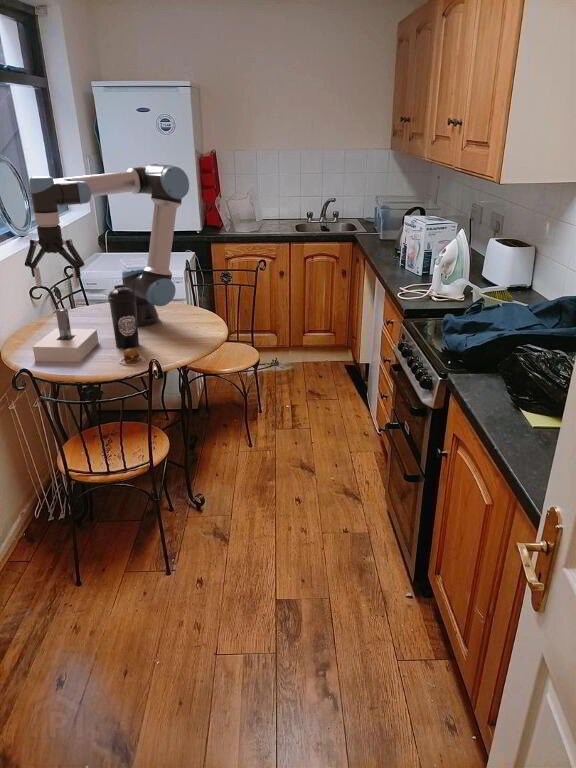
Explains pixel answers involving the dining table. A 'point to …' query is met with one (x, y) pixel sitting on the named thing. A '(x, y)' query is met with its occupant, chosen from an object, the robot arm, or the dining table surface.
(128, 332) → the water bottle
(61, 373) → the dining table surface
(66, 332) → the steel pin
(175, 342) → the dining table surface
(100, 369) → the dining table surface
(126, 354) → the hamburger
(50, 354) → the socket block
